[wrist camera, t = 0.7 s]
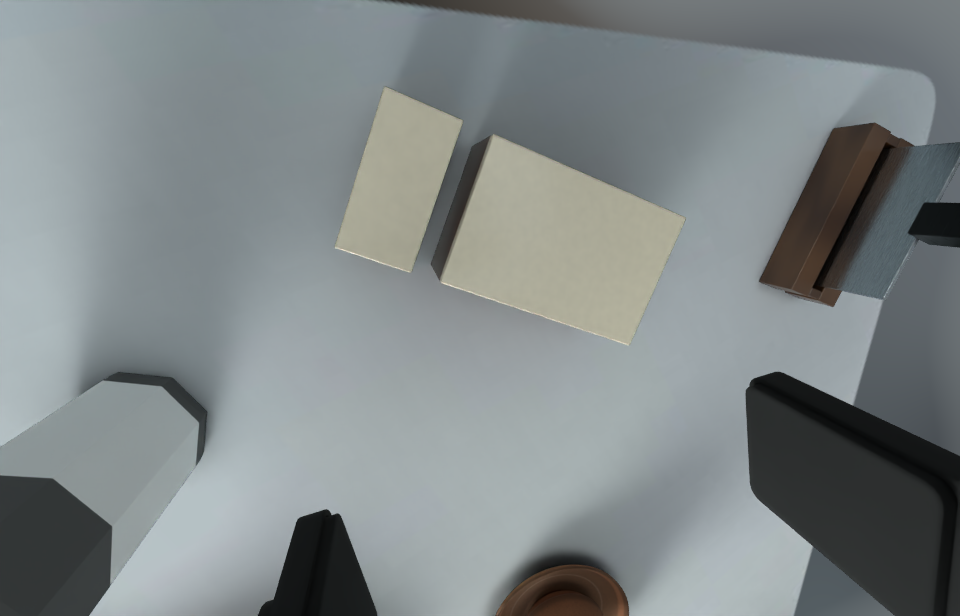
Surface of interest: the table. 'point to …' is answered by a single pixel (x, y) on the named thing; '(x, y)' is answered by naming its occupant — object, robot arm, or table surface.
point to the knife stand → (826, 210)
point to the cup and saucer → (567, 594)
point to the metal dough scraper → (894, 219)
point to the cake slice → (398, 180)
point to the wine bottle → (91, 490)
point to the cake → (554, 241)
